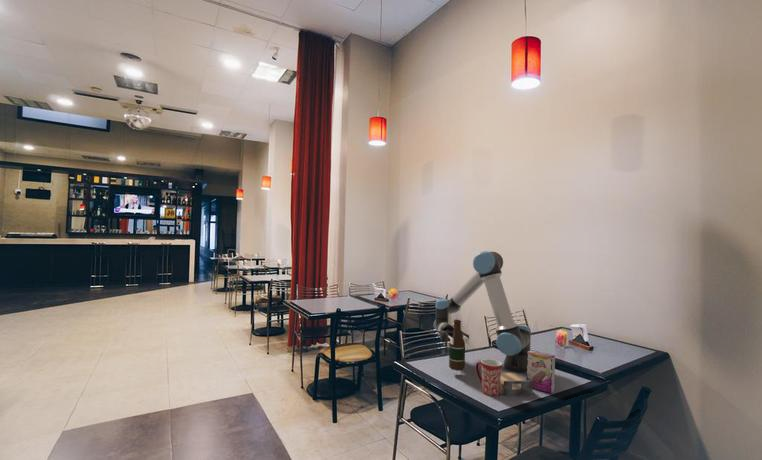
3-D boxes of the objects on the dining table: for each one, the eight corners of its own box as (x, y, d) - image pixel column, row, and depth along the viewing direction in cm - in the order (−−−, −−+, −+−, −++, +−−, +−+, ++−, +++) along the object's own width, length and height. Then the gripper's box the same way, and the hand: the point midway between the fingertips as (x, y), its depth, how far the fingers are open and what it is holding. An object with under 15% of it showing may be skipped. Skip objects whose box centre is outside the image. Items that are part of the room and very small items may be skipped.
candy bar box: (526, 387, 165) (526, 351, 165) (529, 384, 168) (530, 349, 169) (551, 394, 157) (552, 357, 158) (554, 391, 161) (555, 354, 162)
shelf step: (514, 381, 171) (515, 368, 172) (532, 395, 156) (532, 381, 156) (489, 381, 170) (489, 368, 170) (504, 395, 154) (504, 381, 154)
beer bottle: (465, 371, 173) (465, 322, 174) (448, 370, 174) (449, 321, 175) (464, 366, 180) (465, 319, 181) (449, 364, 182) (449, 318, 183)
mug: (505, 394, 156) (506, 363, 156) (492, 398, 150) (493, 366, 151) (482, 384, 166) (483, 355, 167) (469, 388, 161) (470, 358, 161)
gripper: (464, 337, 197) (480, 349, 174) (429, 337, 194) (440, 349, 172) (464, 323, 197) (480, 333, 174) (429, 323, 195) (440, 334, 172)
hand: (460, 341), depth 173 cm, fingers closed on beer bottle, 7 cm apart
